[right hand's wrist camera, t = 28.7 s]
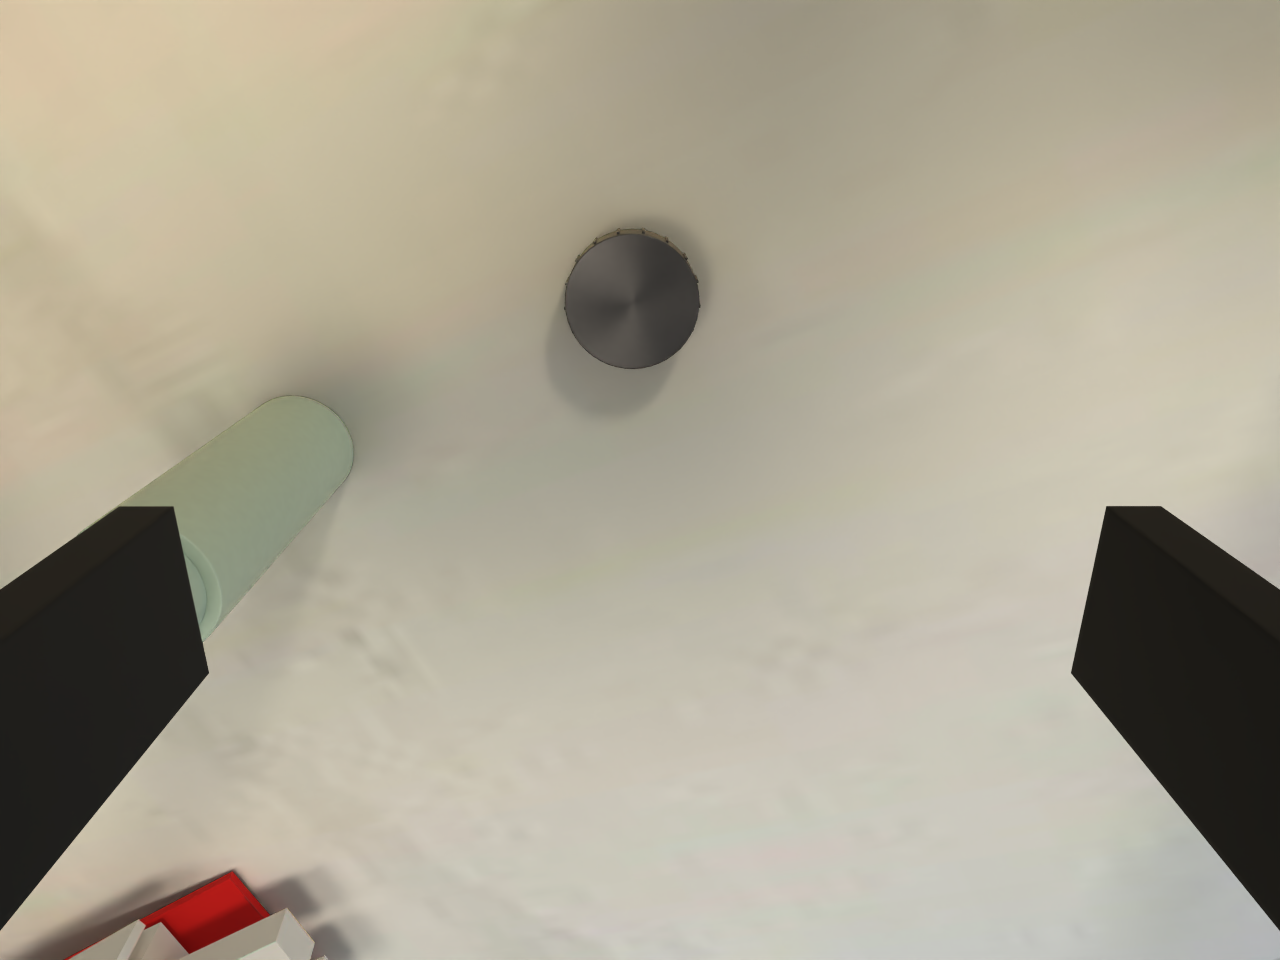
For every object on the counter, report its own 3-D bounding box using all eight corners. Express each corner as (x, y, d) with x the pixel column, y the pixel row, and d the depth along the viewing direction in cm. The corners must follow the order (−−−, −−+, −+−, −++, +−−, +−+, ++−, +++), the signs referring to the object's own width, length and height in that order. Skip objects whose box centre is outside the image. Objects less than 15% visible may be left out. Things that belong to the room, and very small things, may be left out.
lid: (697, 358, 37) (700, 369, 35) (570, 360, 37) (566, 372, 35) (698, 226, 35) (701, 231, 33) (563, 228, 35) (559, 233, 33)
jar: (222, 429, 38) (-14, 593, 25) (308, 375, 38) (113, 513, 24) (291, 514, 40) (105, 714, 26) (375, 465, 39) (228, 644, 25)
